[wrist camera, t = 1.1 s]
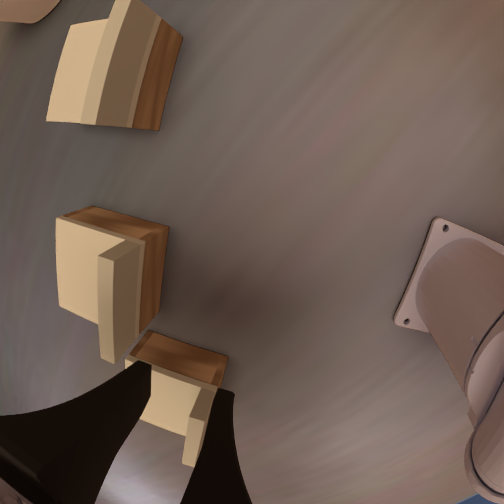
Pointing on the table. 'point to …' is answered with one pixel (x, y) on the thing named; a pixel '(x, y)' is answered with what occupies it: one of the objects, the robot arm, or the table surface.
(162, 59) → the crates
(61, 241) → the lid
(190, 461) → the lid
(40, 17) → the cup
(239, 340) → the table surface
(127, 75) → the lid
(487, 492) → the robot arm
